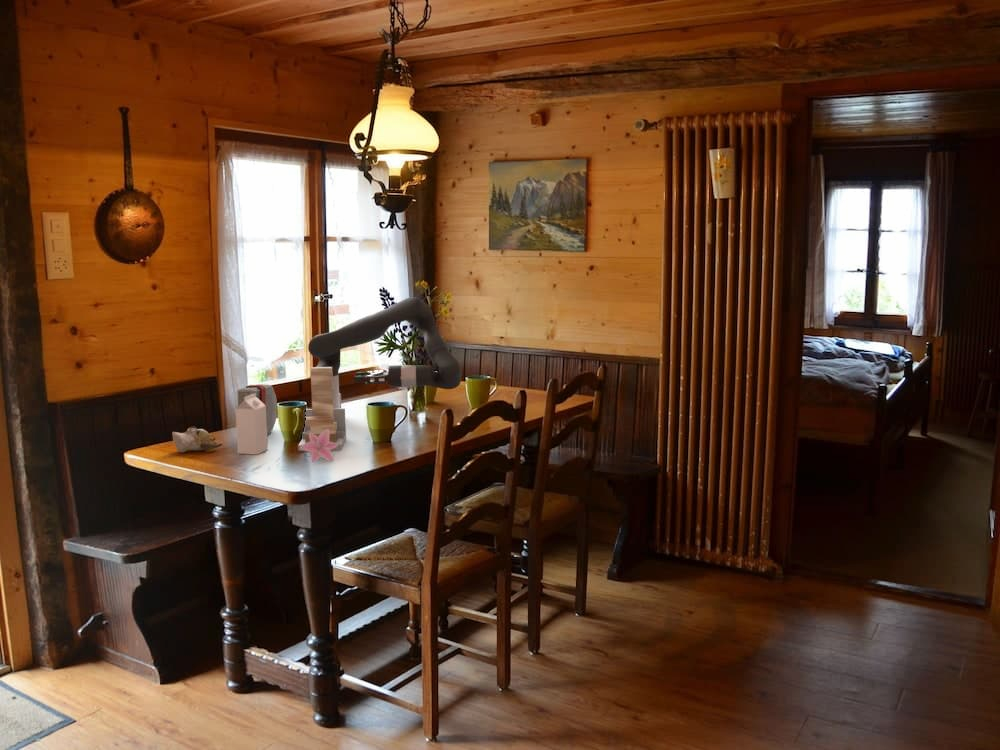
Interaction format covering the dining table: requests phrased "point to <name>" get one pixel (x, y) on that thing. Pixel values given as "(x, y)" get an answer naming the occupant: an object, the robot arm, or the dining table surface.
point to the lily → (319, 446)
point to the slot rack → (341, 427)
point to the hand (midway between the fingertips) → (355, 377)
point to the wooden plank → (322, 391)
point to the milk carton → (251, 426)
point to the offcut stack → (321, 427)
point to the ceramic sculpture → (194, 440)
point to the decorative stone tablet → (266, 397)
